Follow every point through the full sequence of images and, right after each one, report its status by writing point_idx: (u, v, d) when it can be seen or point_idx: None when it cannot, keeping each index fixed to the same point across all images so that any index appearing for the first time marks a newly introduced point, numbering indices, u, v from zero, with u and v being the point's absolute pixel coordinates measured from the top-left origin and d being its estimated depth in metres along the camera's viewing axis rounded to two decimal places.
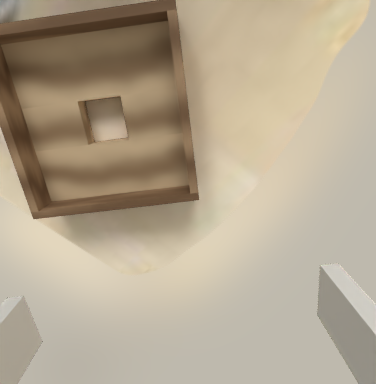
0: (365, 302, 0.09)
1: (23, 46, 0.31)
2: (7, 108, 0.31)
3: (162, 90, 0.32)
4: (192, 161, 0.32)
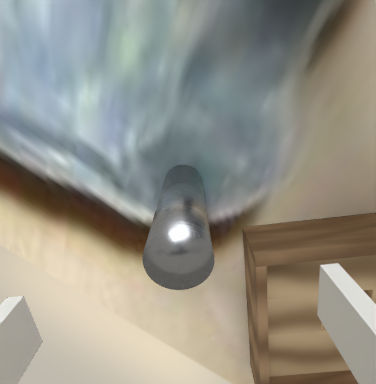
0: (365, 302, 0.09)
1: None
2: None
3: None
4: None
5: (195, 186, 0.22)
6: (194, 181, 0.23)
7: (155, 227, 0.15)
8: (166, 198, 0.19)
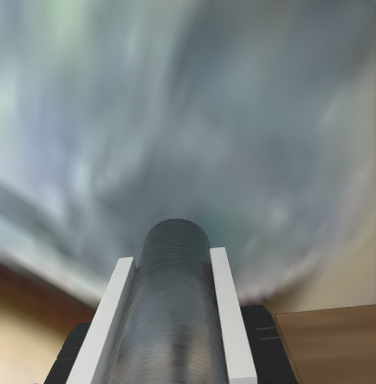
0: (225, 275, 0.11)
1: None
2: None
3: None
4: None
5: (200, 293, 0.10)
6: (197, 272, 0.11)
7: None
8: (126, 365, 0.07)
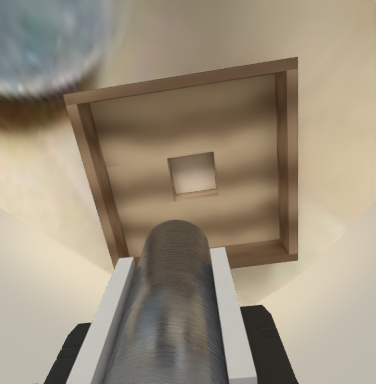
0: (225, 275, 0.11)
1: (113, 104, 0.28)
2: (98, 172, 0.28)
3: (260, 145, 0.30)
4: (295, 222, 0.29)
5: (199, 295, 0.10)
6: (197, 273, 0.11)
7: None
8: (126, 367, 0.07)
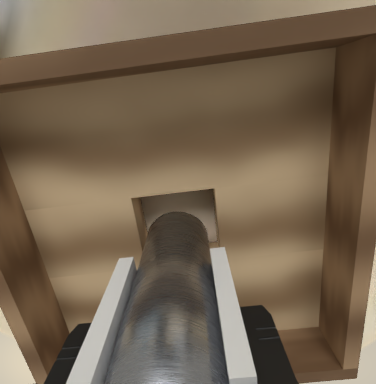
0: (225, 275, 0.11)
1: (27, 99, 0.15)
2: None
3: (297, 179, 0.17)
4: (360, 321, 0.16)
5: (199, 275, 0.11)
6: (196, 257, 0.12)
7: None
8: (135, 331, 0.08)
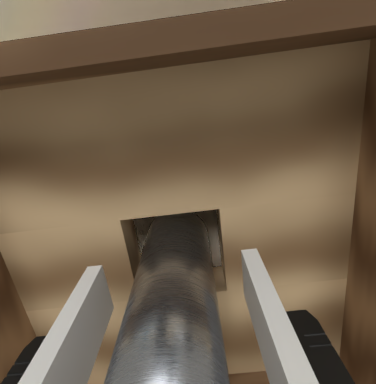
0: (263, 278, 0.11)
1: None
2: None
3: (318, 198, 0.14)
4: None
5: (198, 269, 0.11)
6: (196, 253, 0.13)
7: None
8: (137, 322, 0.09)
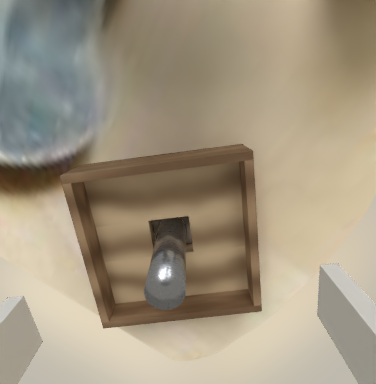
0: (365, 302, 0.09)
1: None
2: (88, 235, 0.33)
3: (228, 211, 0.35)
4: (258, 279, 0.34)
5: (178, 237, 0.32)
6: (178, 232, 0.33)
7: (151, 272, 0.26)
8: (158, 249, 0.29)
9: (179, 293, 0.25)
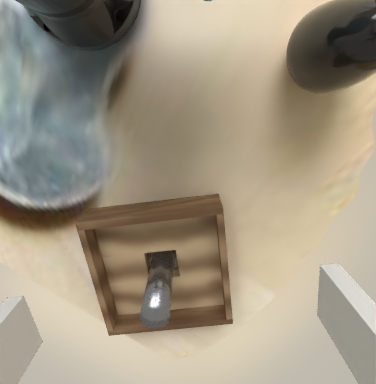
0: (365, 302, 0.09)
1: None
2: (97, 266, 0.42)
3: (206, 246, 0.44)
4: (229, 300, 0.44)
5: (167, 269, 0.42)
6: (167, 264, 0.43)
7: (145, 301, 0.35)
8: (151, 280, 0.39)
9: (165, 317, 0.35)
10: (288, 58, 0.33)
